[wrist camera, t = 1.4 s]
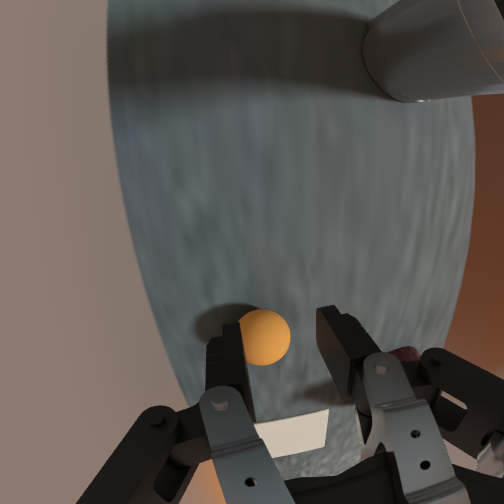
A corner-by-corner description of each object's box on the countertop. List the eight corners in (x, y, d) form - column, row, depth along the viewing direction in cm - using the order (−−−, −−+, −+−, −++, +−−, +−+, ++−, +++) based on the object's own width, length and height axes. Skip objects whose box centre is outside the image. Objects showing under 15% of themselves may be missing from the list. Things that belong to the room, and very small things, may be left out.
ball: (227, 303, 28) (230, 336, 23) (282, 295, 28) (295, 325, 23) (235, 346, 30) (239, 380, 25) (285, 337, 30) (297, 370, 25)
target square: (247, 424, 35) (247, 425, 35) (328, 408, 36) (328, 409, 36) (256, 459, 39) (256, 460, 39) (323, 445, 40) (324, 446, 40)
